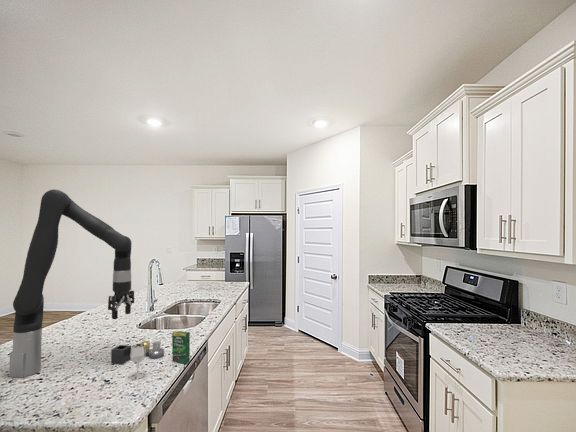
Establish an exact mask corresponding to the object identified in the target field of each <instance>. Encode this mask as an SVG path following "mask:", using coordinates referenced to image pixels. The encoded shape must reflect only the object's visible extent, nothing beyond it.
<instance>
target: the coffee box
mask: <svg viewBox="0 0 576 432" xmlns="http://www.w3.org/2000/svg"><path fill="white" fill-rule="evenodd" d="M171 333H172V334H171V338H172V339H171V341H172V343H171V344H172V345H171V349H172V350H171V351H172V352H171V354H172V358H171V359H172V360H171V361H172V362H174V363H179V364H183V365H188V364H189V363H190V361H191V360H190V358H191V357H190V354H191V352H190V351H191V350H190V349H191V348H190V346H191V344H190V343H191V339H190V338H191V335H190V334H191V333H190V332H189V331H182V330H174V331H172V332H171Z"/></svg>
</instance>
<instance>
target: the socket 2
mask: <svg viewBox="0 0 576 432" xmlns="http://www.w3.org/2000/svg"><path fill="white" fill-rule="evenodd" d="M150 342H151V341H149V340H144V341H141V342H140V344H144V345H145V349H146V350H150V349H151V348H150V345H151V343H150Z"/></svg>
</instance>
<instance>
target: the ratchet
mask: <svg viewBox="0 0 576 432" xmlns="http://www.w3.org/2000/svg"><path fill="white" fill-rule="evenodd" d="M164 355H165V349H164V348H162V347H161V340H154V341H153V342H152V349H149V350H146V356H145V358H146V357H148V358H149V359H151V360H157V359H162V358H163V357H164Z"/></svg>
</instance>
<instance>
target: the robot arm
mask: <svg viewBox="0 0 576 432" xmlns="http://www.w3.org/2000/svg"><path fill="white" fill-rule="evenodd" d="M39 207H40V208H39V211H38V212H39V214H38V217H37V218H38V219H37V223H36V225H35V228H34V230H33V234H32V237H31V240H30V243H29V247H28V250H27V254H26V257H25V258H26V259H25V264H24V267H23V268H24V269H23V274H22V276H23V277H22V280H21V282H20V285H19V287H18V291H17V293H16V295H15V297H14V299H13V301H12V302H13V303H12V307H13V310H14V311H15V312H14V315H15V316H14V323H13V327H12V328H13V330H12V351H10V352H9V369H8V370H9V371H8V376H9V378H10V377H11V378H20V379H21V378H26V377H29V376H33V375H34V374H38V373H39V372H40V371H41V369H42V364H41V363H42V345H43V344H42V343H43V342H42V341H43V340H42V337H43V322H44V321H43V320H44V307H45V305H44V304H45V300H44V299H45V297H44V295H43V292H44V285H45V281H46V278H47V277H48V274H49V271H50V270H51V267H52V265H53V262H54V260H55V257H56V253H57V250H58V249H57V248H58V245H59V225H60V221H61V218H62V216H63V217H66V218H68V219H70V220H72V221H74V222H75V223H77V224H78V225H79V226H80V227H82V229H84V230H86V231H87V232H89V233H90V234H91V235H93V236H95V238H97V239H99V240H101V241H102V242H104V243H106V244H107V246H108V245H109V246H110V247H111V248H112V249H114V260H113V271H112V272H113V273H112V292H114V294H113V295H109V296H108V298H107V299H108V300H107V301H108V302H107V310H108V311H111V319H112V320H118V317H119V316H118V315H119V311H118V310H119V307H120V306H121V305H122V304H124V305H125V308H124V310H125V313H124V314H125V315H130V314H131V311H132V307H131V306H132V304H134V303H135V291H134V290H132V270H131V269H132V261H131V260H132V258H131V255H132V240H131V238H130V237H128V236H127V235H124V234H122V233H120V232H119V231H117V230H115V229H114V227H112V226H111V225H109V224H108V223H107V222H105V221H103V220H102V219H100V218H99V217H97V216H95V215H93V214H91V213H90V212H88V211H86V210H85V209H84V208H82V207H81V206H79V204H77V203H76V202H75V201H74V200H73V199H72V198H71V197H70V196H69V195H68V194H67V193H65V192H63V191H62V190H60V189H49V190H47V191H46V192H45V193H44V194H43V195H42V196H41V199H40V206H39Z"/></svg>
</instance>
